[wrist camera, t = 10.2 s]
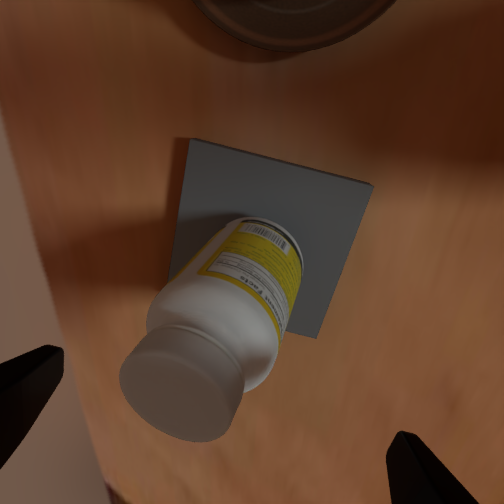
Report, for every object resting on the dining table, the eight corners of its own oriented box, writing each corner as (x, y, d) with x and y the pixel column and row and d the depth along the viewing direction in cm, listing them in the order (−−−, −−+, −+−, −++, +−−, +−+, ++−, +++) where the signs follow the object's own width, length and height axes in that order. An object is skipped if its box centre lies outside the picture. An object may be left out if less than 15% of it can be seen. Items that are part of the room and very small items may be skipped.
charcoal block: (365, 180, 19) (373, 186, 17) (313, 321, 23) (316, 338, 21) (199, 137, 19) (189, 139, 17) (174, 285, 23) (164, 299, 21)
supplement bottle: (233, 304, 21) (142, 451, 12) (200, 225, 19) (68, 337, 11) (317, 293, 19) (274, 465, 10) (290, 203, 17) (211, 323, 8)
